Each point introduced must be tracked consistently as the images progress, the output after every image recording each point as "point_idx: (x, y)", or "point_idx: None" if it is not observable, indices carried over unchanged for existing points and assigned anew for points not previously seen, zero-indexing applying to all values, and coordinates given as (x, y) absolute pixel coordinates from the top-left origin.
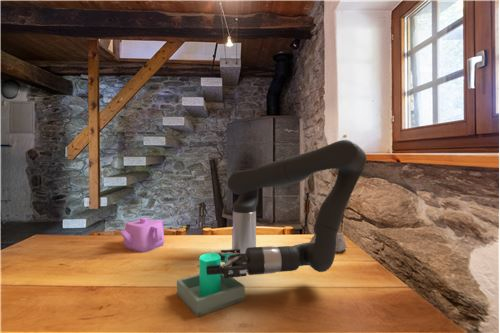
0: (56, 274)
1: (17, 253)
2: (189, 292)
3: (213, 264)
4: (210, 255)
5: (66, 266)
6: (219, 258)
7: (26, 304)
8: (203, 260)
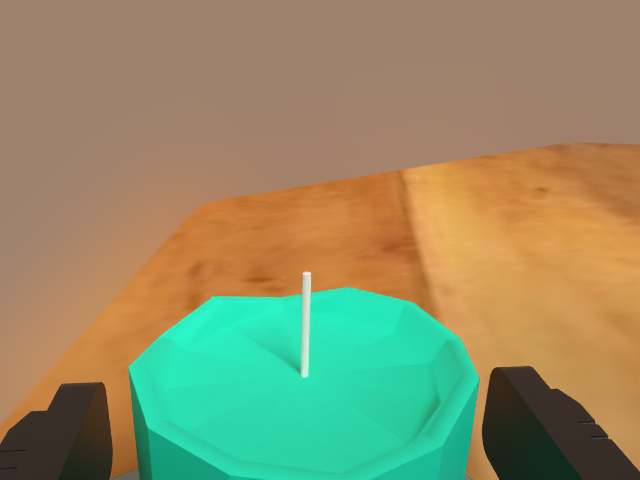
0: (473, 195)
1: (562, 151)
2: (136, 473)
3: (139, 443)
4: (431, 376)
5: (531, 195)
6: (216, 463)
7: (304, 199)
8: (199, 314)
